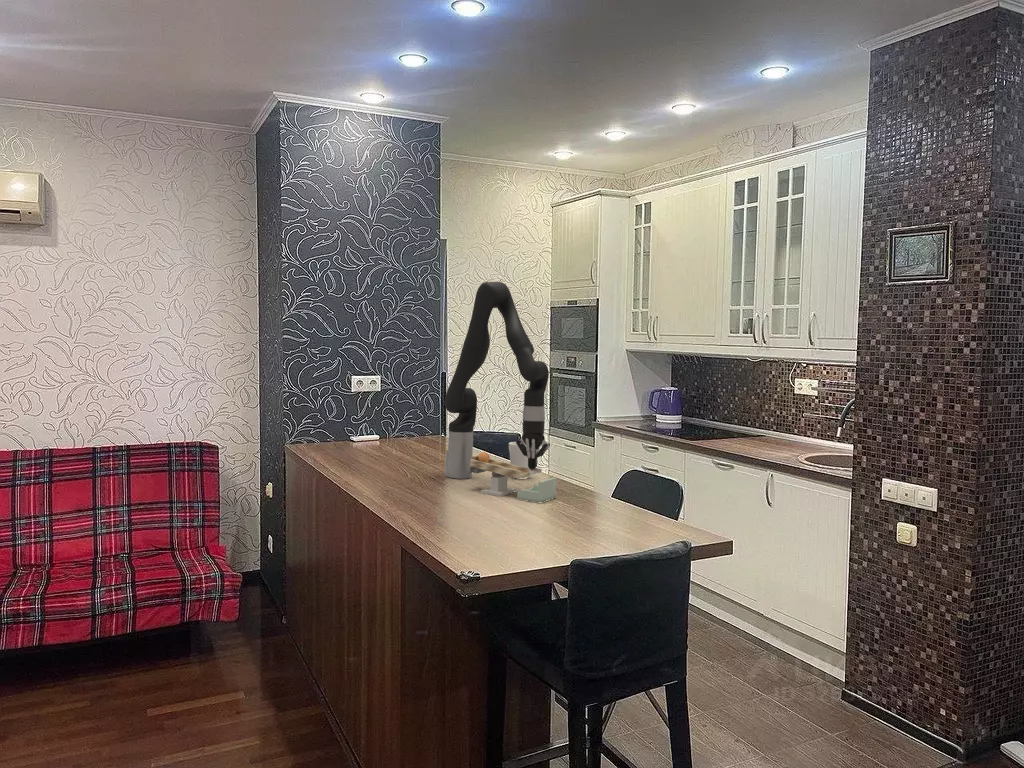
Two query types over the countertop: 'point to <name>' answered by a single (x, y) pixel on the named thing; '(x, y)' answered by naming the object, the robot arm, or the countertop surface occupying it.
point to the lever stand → (498, 486)
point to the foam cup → (517, 456)
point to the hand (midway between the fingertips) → (532, 468)
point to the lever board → (501, 468)
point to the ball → (483, 457)
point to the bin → (539, 491)
